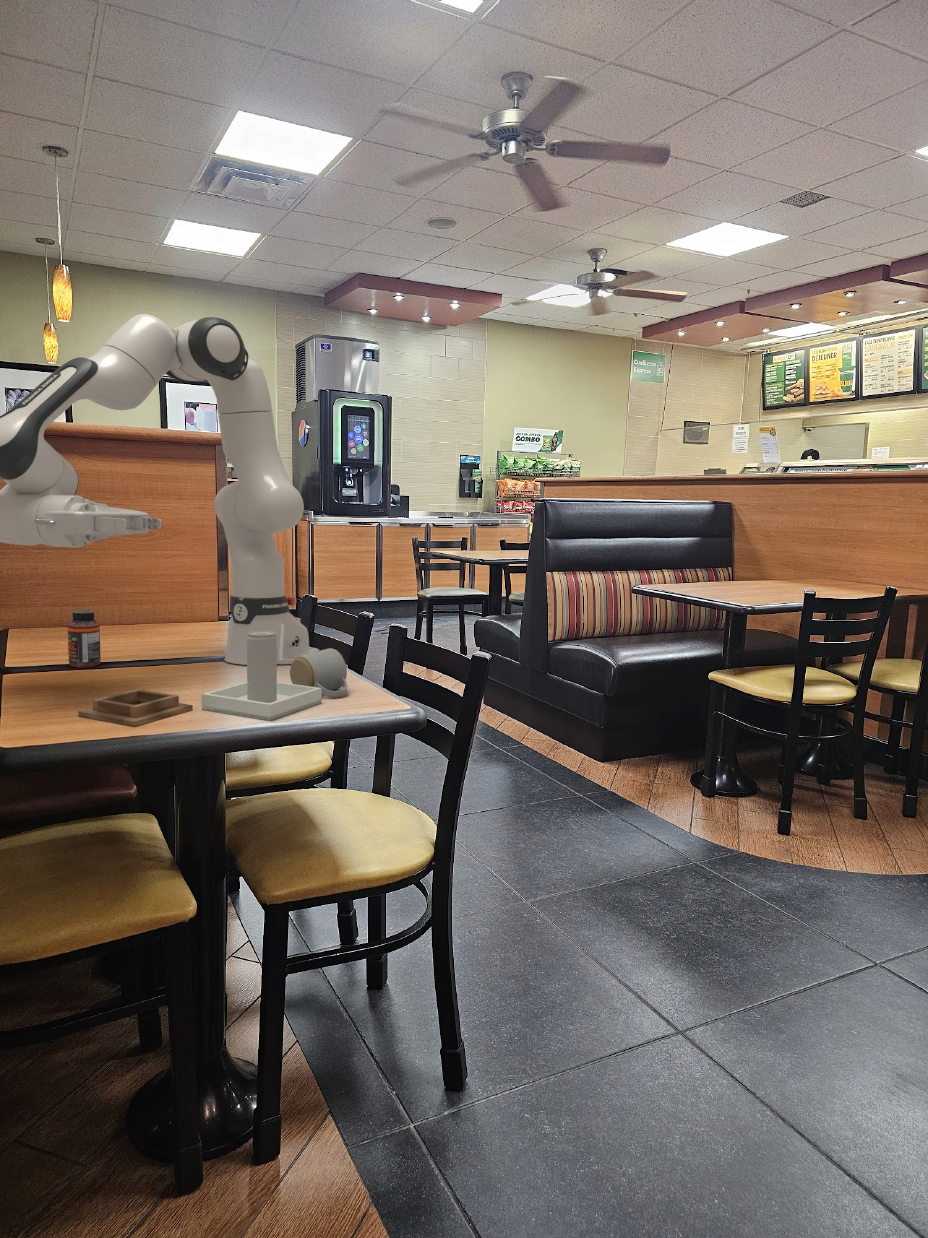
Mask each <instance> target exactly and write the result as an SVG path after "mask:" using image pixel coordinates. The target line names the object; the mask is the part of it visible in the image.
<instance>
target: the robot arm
mask: <svg viewBox="0 0 928 1238" xmlns="http://www.w3.org/2000/svg"><path fill="white" fill-rule="evenodd" d="M264 373H265V372H264V370H263V368H262V367H261V365H260V364H259V363H258V362H257V361H255V360H253V359H250V358H249V352H248V351H247V349H246V347H245V343H244V340H243V338H242V335H241V334H240V332H239V331H238V329H237V328H236V327H235V325H234V324H232V322H230V321H229V320H226V319H224V318H221V317H215V316H207V317H202V318H200V319H195V320H191V321H190V320H189V321H187V322H185V323H183V324H181V325H179V326H176V327H174V328H171V327H170V326H169V325H167V324H166V322H164V321H163V320H162V319H160V318H159V317H156V316H154V315H152V314H148V313H139V314H136V315H134V316H132V317H131V318H129V320H127V321H126V322H125V323H123V324H122V325H121V326H120V327H119V328H117V330H115V332H113V333H112V335H111V336H110V337H109V338H108V339H107V340H106V341H105V342H104V343H103V345H102V346H101V347H100V348H99V349H98V350H97V351H96V352H95V353H94V354H92V355H91V356H89V357H87V358H86V357H82V356H81V357H76V358H72V359H70V360H68V361H67V362H65V363H63V364H62V365H61V366H60V367H58V368H57V369H56V370H54V371H53V372H52V373H51V374H50V375H48V377H46V378H45V379H43V381H41V383H40V382H39V384H38V385H37V386H36V387H35V388H33V389H32V390H31V391H30V392H28V394H27V395H25V397H23V398H22V399H21V400H20V401H19V402H17V403H16V404H15V405H14V406H12V408H10V409H9V410H7V411H6V412H4V413H3V414H1V415H0V479H1V480H3V481H4V482H5V483H6V484H5V485H4V486H3V487H2V488H1V489H0V543H4V544H8V545H17V546H18V545H19V546H38V545H41V544H42V545H45V546H48V547H56V548H59V547H61V548H62V547H63V548H82V547H84V546H86V545H89V544H91V543H93V542H97V541H102V540H107V539H109V538H110V537H117V536H128V535H130V536H131V535H141V534H146V533H149V531H150V529H151V530H160V529H161V528H162V527H163V526H162V522H163V521H162V519H161V518H154V517H153V518H152V517H150V515H149V513H147V512H146V511H145V512H144V511H139V510H134V509H127V508H121V507H113V506H108V504H107V503H102V502H96V501H92V500H89V499H88V498H85V497H82V496H80V495H76V493H77V492H78V489H79V484H80V482H79V481H80V480H79V474H78V472H77V470H76V469H75V468H74V467H73V466H72V465H71V463H70V462H69V461H68V460H67V459H65V458H64V457H63V456H62V455H61V454H60V453H59V452H58V451H56V450H55V448H53V446H52V445H50V444H49V443H48V442H47V441H46V440H45V438H44V437H45V436H44V435H45V432H46V431H45V430H46V429H47V428H48V427H49V426H50V425H52V423H53V422H54V421H55V420H56V419H58V418H59V417H60V416H61V415H63V413H64V412H65V411H66V410H68V409H69V408H70V407H71V406H72V405H73V404H74V403H76V402H78V401H81V400H89V401H91V402H93V403H95V404H97V405H100V406H102V407H105V408H107V409H111V410H114V411H115V410H116V411H128V410H129V411H130V410H133V409H135V408H138V407H139V406H140V405H141V404H142V403H144V401H146V399H147V398H149V396H150V395H151V393H152V391H154V389H155V387H156V386H157V385H158V384H159V382H160V381H161V379H162V378H163V377H164V376H165V375H166V376H168V377H169V378H172V379H173V380H176V381H178V382H183V383H194V382H203V381H207V382H208V383H209V385H210V387H211V389H212V391H213V393H214V395H215V399H216V409H217V415H218V416H217V417H218V422H219V429H220V430H219V431H220V437H221V444H222V451H223V454H224V456H225V458H226V459H227V460H228V461H229V462H230V463H231V466H232V468H233V471H234V472H235V475H236V477H237V480H236V481H233V482H231V483H229V484H227V485H225V486H223V487H222V488H220V489H219V491H217V494H216V496H215V499H214V504H213V506H214V511H215V515H216V517H217V519H218V520H219V521H220V522H221V524H222V527H223V530H224V534H225V538H226V542H227V546H228V550H229V557H230V564H231V566H230V567H231V595H230V596H229V602H228V603H229V612H230V613H231V617H230V619H229V620H228V626H227V627H228V628H227V638H226V647H225V648H226V649H225V650H224V651H223V655H222V656H223V657H224V659H223V660H224V661H225V662H227V663H230V664H234V665H235V664H236V665H243V666H247V636H248V632H252V631H272V632H275V633H276V634H275V635H276V637H277V665H291V664H292V662H293V661H294V659H295V658H297V657H299V656H301V655H304V654H308V653H313V652H317V651H320V649H319V648H316V647H311V646H310V639H309V632H308V628H307V626H305V625H304V624H303V623H301V622H300V620H298V619H297V618H296V617H295V616H294V615H293V614H292V613H290V611H291V610H290V607H289V606H297V605H296V604H297V602H298V601H297V598H296V596H288V595H287V596H286V595H285V561H284V559H283V556H282V555H281V554H280V552H279V549H278V548H277V546H276V545H277V544H276V542H275V541H276V540H275V538H274V534H276V533H281V532H285V531H288V530H289V529H292V528H294V527H296V526H297V525H298V524H299V523H300V521H301V520H302V517H303V515H304V511H305V508H304V506H305V505H304V499H303V497H302V495H301V493H300V492H299V491H298V489H297V488H295V486H294V485H293V484H292V482H291V480H290V479H289V476H288V474H287V471H286V469H285V466H284V464H283V461H282V458H281V456H280V452H279V448H278V444H277V434H276V429H275V422H274V416H273V415H274V414H273V407H272V400H271V396H270V391H269V390H270V389H269V387H268V383H267V380H266V376H265V374H264Z"/></svg>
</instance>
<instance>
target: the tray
mask: <svg viewBox="0 0 928 1238" xmlns="http://www.w3.org/2000/svg"><path fill="white" fill-rule="evenodd" d="M322 699H323V695H322V688H317V687H310V686H303V685H296V684H293V683H290V682H289V683H287V682H281V681H277V700H276V701H275V702H271V703H265V702H259V701H252V700H247V681H245V682H244V681H243V682H241V683H238V684H237V683H236V684H233V685H229V686H226V687H223V688H218V689H215V690H211V691H207V692H204V693H201V710H202V709H204V710H203V711H208V710H210V711H209V712H214V713H221V714H227V715H231V716H232V715H233V716H239V717H243V718H249V719H251V718H252V719H255V720H256V719H257V720H261V721H270V722H271V721H274V720H277V719H280V718H283V717H285V716H288V715H291V714H294V713H297V712H299V711H302V710H306V709H308V708H311V707H314V706H316V705H318V704H322V701H323V700H322Z"/></svg>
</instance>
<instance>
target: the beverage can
mask: <svg viewBox="0 0 928 1238" xmlns="http://www.w3.org/2000/svg"><path fill="white" fill-rule="evenodd" d="M275 634H276V633H275V632H272V631H252V632H248V636H247V665H246V680H247V681H246V682H247V700H252V701H259V702H265V703H271V702H275V701H276V700H277V682H278V679H277V677H278V675H277V669H278V664H277V637H276V635H275Z"/></svg>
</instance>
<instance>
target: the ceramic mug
mask: <svg viewBox="0 0 928 1238" xmlns="http://www.w3.org/2000/svg"><path fill="white" fill-rule="evenodd" d="M347 673H348V670H347V665H346V662H345V659H344V658H343V655H342V654H341V653H340V652H339V651H338V650H337V649H334V648H325V649H321V650H319V651H317V652H313V653H308V654H304V655H301V656H299V657H297V658H295V659H294V661H293V662H292V664H290V669H289V675H290V680H291V684H296V685H303V686H310V687H317V688H322V697H326V698H329V699H338V698H337V697H340V698H342V696H343V697H345V695H346V693H347V690H348V683H347ZM340 688H342V689H341V690H339V689H340Z"/></svg>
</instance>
